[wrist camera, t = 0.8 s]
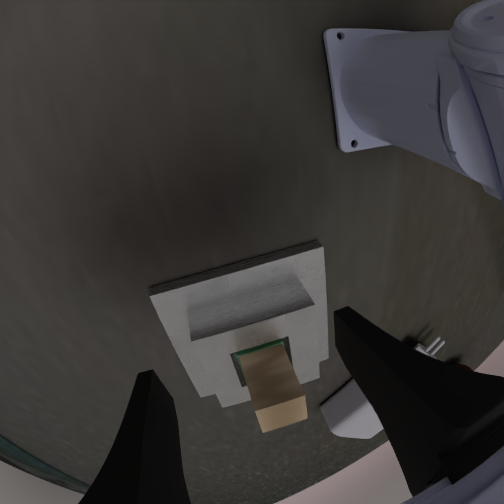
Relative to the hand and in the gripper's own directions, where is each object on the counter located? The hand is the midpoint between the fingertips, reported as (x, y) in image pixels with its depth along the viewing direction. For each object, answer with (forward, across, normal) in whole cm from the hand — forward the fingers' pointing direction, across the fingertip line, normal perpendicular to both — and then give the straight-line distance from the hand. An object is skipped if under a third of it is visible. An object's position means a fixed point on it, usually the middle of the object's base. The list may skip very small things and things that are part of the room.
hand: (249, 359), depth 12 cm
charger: (+11, -14, +23) cm, 29 cm away
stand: (+10, -1, +8) cm, 13 cm away
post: (+9, -1, +8) cm, 12 cm away
